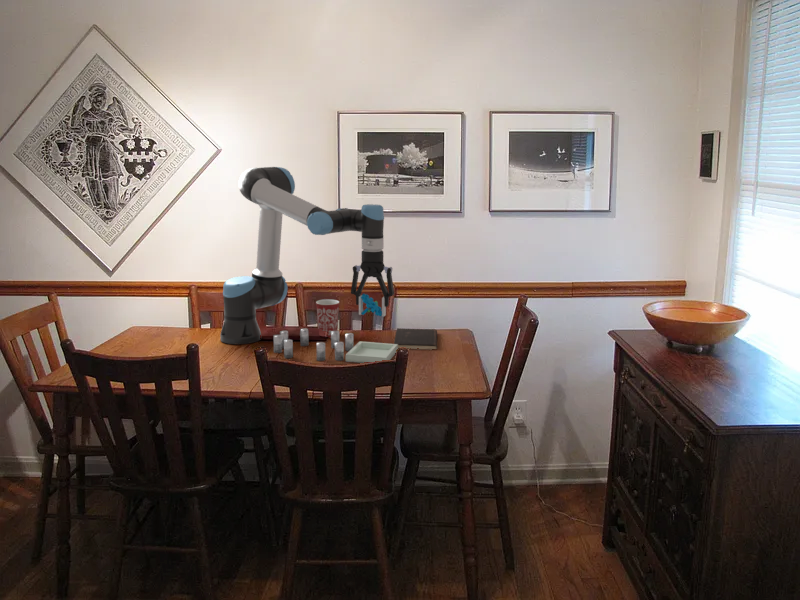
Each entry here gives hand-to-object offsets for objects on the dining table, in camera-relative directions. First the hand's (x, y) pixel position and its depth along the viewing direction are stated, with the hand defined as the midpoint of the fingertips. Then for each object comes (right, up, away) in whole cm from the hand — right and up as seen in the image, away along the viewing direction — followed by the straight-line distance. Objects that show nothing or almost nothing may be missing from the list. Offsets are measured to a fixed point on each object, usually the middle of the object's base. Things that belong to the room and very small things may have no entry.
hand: (372, 314), depth 252 cm
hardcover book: (+16, -11, +24) cm, 31 cm away
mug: (-18, -9, +31) cm, 37 cm away
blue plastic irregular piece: (0, 0, 0) cm, 0 cm away
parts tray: (0, -15, +3) cm, 15 cm away
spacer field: (-22, -14, +7) cm, 27 cm away
